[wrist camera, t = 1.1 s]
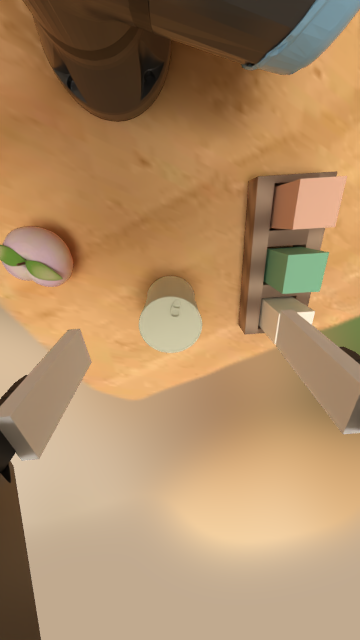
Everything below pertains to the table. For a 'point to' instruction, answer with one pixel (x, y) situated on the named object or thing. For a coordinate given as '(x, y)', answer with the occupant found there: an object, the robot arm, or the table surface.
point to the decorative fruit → (37, 256)
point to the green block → (295, 269)
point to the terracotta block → (307, 203)
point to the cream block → (272, 311)
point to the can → (170, 316)
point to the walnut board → (264, 237)
